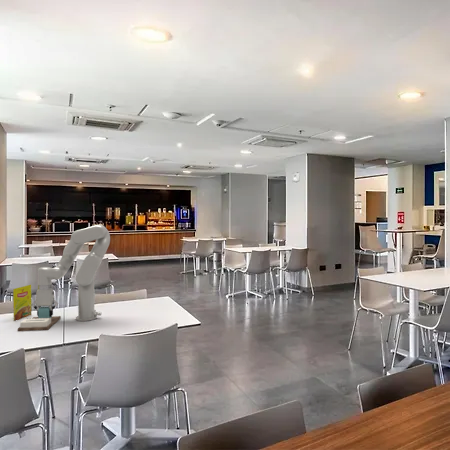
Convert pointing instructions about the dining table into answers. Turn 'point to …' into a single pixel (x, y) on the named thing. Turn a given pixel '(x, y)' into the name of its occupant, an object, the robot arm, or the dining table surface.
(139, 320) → the dining table surface
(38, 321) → the white tray
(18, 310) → the food package
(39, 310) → the teal cube
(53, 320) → the board
